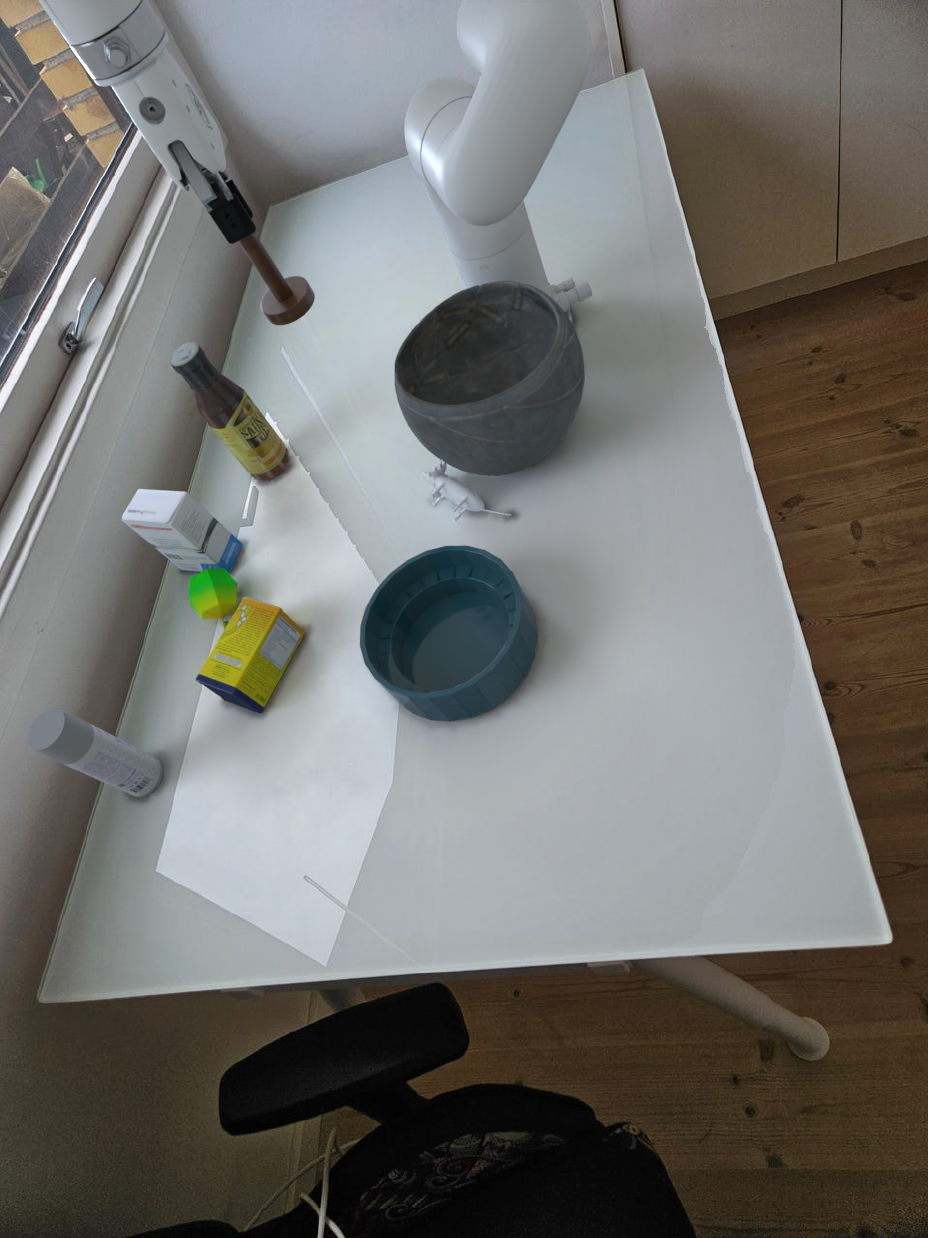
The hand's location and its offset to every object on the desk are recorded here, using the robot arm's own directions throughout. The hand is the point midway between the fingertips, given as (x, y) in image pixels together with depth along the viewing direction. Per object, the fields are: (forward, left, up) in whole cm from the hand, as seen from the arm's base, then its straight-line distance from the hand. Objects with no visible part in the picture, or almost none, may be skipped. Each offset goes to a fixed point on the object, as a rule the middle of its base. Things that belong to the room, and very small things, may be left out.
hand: (241, 228), depth 84 cm
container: (+37, +36, -30) cm, 60 cm away
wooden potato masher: (0, 0, -10) cm, 10 cm away
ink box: (+25, +9, -30) cm, 41 cm away
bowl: (-16, +15, -30) cm, 37 cm away
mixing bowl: (-2, +38, -30) cm, 49 cm away
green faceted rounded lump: (+22, +20, -26) cm, 39 cm away
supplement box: (+24, +34, -27) cm, 50 cm away
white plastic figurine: (-6, +23, -28) cm, 36 cm away
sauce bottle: (+14, -2, -30) cm, 34 cm away
